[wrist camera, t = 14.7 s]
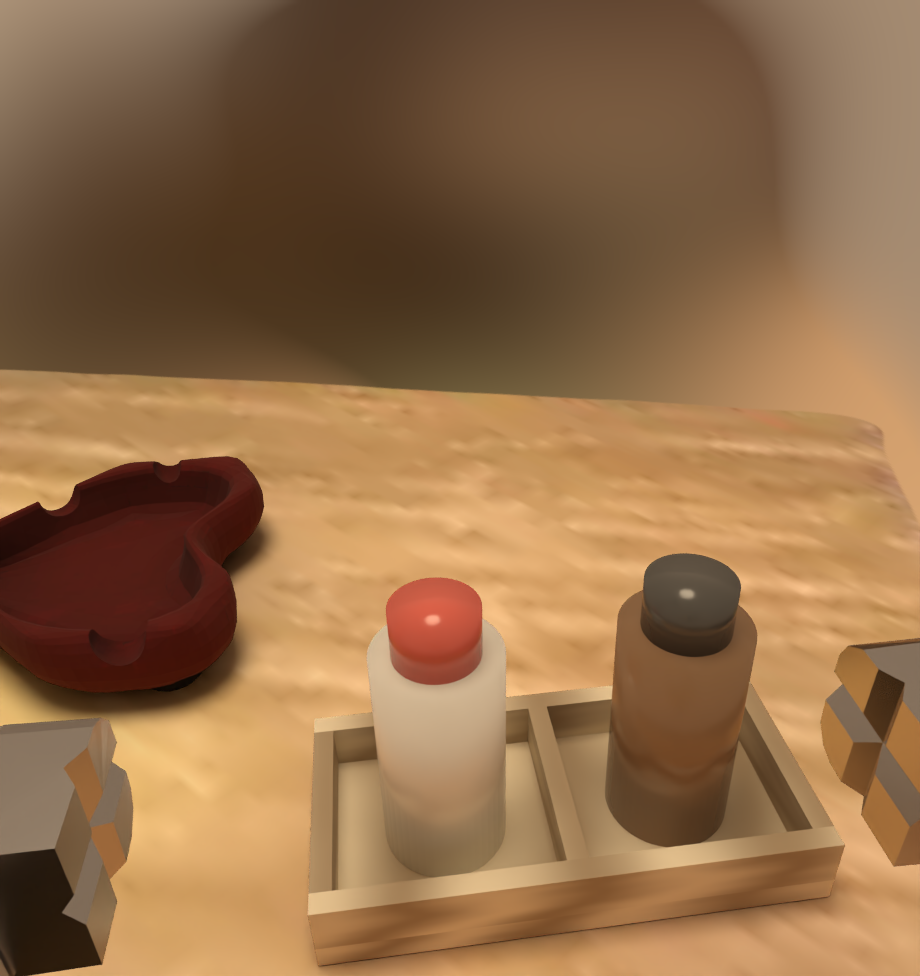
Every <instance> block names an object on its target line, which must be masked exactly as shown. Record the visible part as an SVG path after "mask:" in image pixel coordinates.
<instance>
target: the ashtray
mask: <svg viewBox="0 0 920 976" xmlns="http://www.w3.org/2000/svg"><path fill="white" fill-rule="evenodd" d="M263 509H264V502H263V494H262V490H261V488H260V485H259V483H258V481H257V479H256V478H255V476H254V475H253V473H252V472H251V471H250V470H249V469H248V468H247V466H246V465H245V464H244V463H243V462H242V461H241V460H239V459H238V458H233V457H228V456H225V457H209V458H199V459H189V460H181V461H180V462H179V463H178V464H177V465H174V466H165V465H162V464H160V463H159V462H155V461H153V462H134V463H128V464H124V465H120V466H118V467H115V468H113V469H110V470H108V471H105V472H103V473H101V474H99V475H96V476H94V477H92V478H90V479H88V480H85V481H83V482H81V483H79V484H76V486H75V488H74V491H73V494H72V497H71V499H70V501H69V502H68V503H67V504H66V505H65V506H64V507H62V508H60V509H57V510H52V511H50V510H46V509H44V508H43V507H42V506H41V505H40V503H39V502H36V503H34V504H32V505H30V506H27V507H25V508H23V509H21V510H19V511H16V512H14V513H12V514H10V515H8V516H6V517H4V518H2V519H0V647H1V648H2V649H3V650H5V651H6V652H7V653H8V654H9V655H10V656H11V657H13V658H14V659H15V660H16V661H17V662H19V663H20V664H21V665H23V666H24V667H25V668H27V669H28V670H29V671H30V672H31V673H33V674H34V675H35V676H36V677H37V678H40V679H42V680H44V681H46V682H48V683H51V684H54V685H58V686H61V687H65V688H70V689H75V690H81V691H88V692H118V691H127V690H140V689H153V690H156V691H173V690H178V689H180V688H183V687H185V686H187V685H189V684H190V683H192V682H193V681H195V680H196V679H197V678H198V677H199V676H200V674H201V672H202V671H203V670H205V669H206V668H208V667H209V666H210V665H211V664H212V663H213V662H215V661H216V660H217V659H218V658H219V657H220V655H221V654H222V653H223V652H224V651H225V650H226V648H227V647H228V646H229V644H230V643H231V641H232V638H233V635H234V631H235V627H236V623H237V606H236V597H235V592H234V588H233V585H232V581H231V578H230V575H229V574H228V573H227V571H226V570H225V569H224V568H223V567H221V566H222V564H223V562H224V560H225V559H226V558H227V556H228V555H229V554H230V553H231V552H233V551H234V550H236V549H237V548H238V547H240V546H241V545H242V544H243V543H244V542H245V541H246V540H247V539H248V538H249V537H250V536H251V535H252V533H253V532H254V530H255V529H256V527H257V525H258V524H259V521H260V519H261V516H262V513H263Z"/></svg>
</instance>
